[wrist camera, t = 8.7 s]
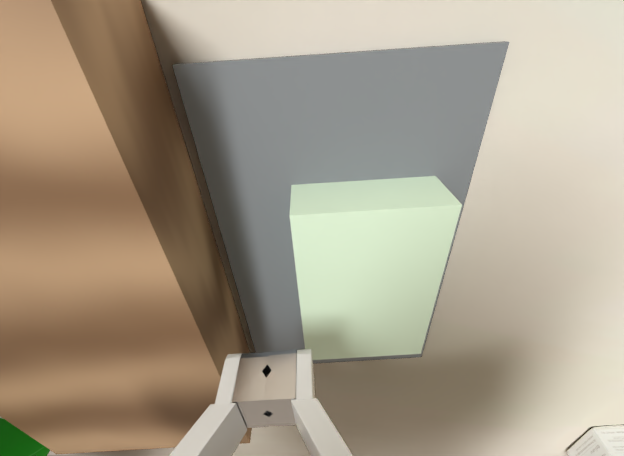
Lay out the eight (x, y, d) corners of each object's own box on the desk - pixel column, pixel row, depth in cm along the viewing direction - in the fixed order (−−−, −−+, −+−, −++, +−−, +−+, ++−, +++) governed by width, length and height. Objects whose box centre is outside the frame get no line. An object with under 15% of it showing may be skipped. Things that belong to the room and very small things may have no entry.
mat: (175, 64, 10) (172, 65, 9) (503, 41, 10) (509, 41, 9) (260, 362, 20) (259, 366, 20) (419, 352, 20) (421, 356, 20)
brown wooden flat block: (-261, 15, 9) (-606, 7, 5) (136, -13, 9) (33, -38, 5) (94, 387, 21) (56, 454, 18) (257, 378, 21) (249, 442, 18)
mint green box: (462, 204, 10) (435, 175, 12) (289, 215, 10) (291, 184, 12) (420, 353, 15) (407, 316, 17) (306, 360, 15) (305, 322, 17)
